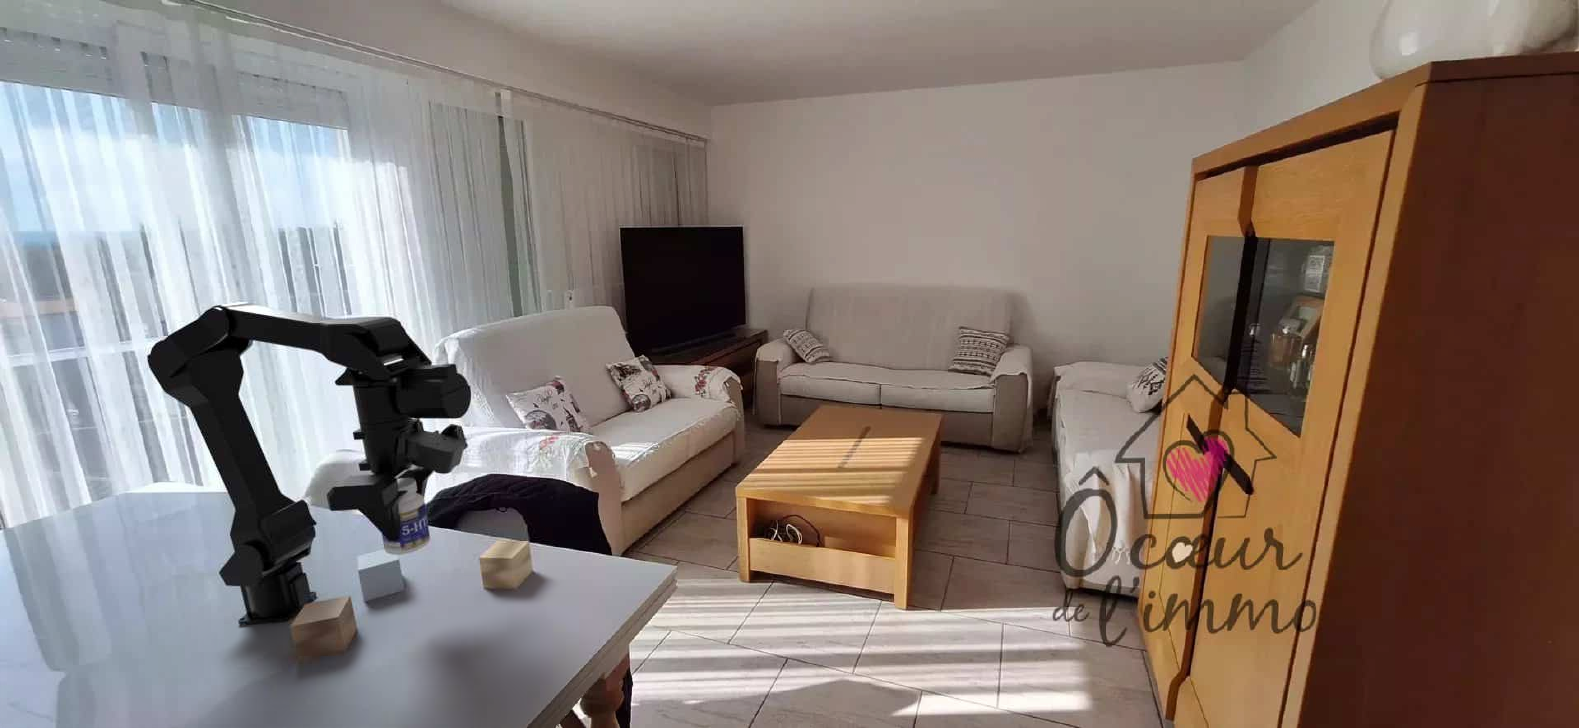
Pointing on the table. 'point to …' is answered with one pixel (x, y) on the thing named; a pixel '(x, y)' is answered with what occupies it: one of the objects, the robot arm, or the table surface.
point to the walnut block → (324, 628)
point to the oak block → (506, 564)
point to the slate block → (379, 574)
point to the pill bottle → (409, 521)
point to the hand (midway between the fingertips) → (405, 530)
